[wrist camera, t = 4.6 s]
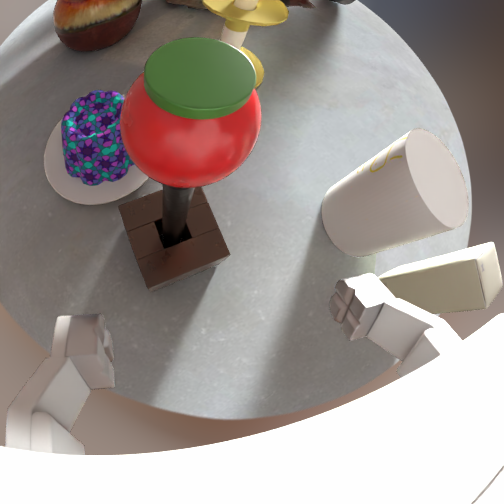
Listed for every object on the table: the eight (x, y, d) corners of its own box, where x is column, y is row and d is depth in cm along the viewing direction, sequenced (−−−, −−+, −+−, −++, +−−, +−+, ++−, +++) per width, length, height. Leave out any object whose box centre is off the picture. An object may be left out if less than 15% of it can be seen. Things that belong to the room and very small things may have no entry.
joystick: (202, 257, 24) (314, 119, 6) (157, 276, 22) (134, 162, 5) (184, 214, 24) (245, 19, 6) (140, 230, 22) (103, 39, 5)
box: (381, 318, 28) (485, 313, 16) (369, 279, 28) (474, 258, 16) (410, 299, 29) (505, 287, 17) (400, 263, 30) (495, 239, 18)
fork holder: (218, 264, 24) (230, 254, 20) (151, 292, 22) (147, 288, 18) (191, 199, 24) (197, 177, 20) (125, 224, 22) (117, 205, 18)
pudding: (71, 234, 21) (49, 214, 16) (34, 135, 20) (17, 105, 16) (189, 165, 25) (196, 133, 20) (136, 83, 25) (135, 47, 20)
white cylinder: (369, 180, 31) (444, 133, 19) (390, 248, 30) (477, 221, 18) (311, 185, 28) (389, 123, 17) (334, 264, 27) (431, 236, 16)
